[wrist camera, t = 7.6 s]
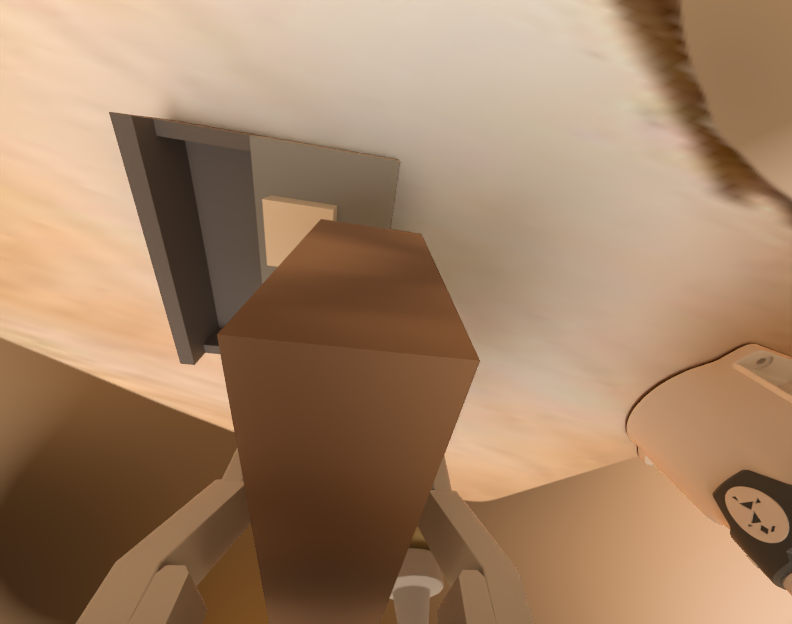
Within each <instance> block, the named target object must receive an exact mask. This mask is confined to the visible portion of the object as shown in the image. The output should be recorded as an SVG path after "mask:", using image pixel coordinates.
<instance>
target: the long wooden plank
mask: <svg viewBox="0 0 792 624" xmlns="http://www.w3.org/2000/svg"><path fill="white" fill-rule="evenodd" d="M217 337H218V343H219V348H220V354H221V360H222V365H223V371H224V376H225V382H226V387H227V393H228V398H229V404H230V409H231V415H232V420H233V426H234V431H235V437H236V442H237V448H238V453H239V459H240V465H241V470H242V476H243V481H244V487H245V492H246V498H247V503H248V509H249V514H250V520H251V525H252V530H253V536H254V542H255V547H256V552H257V558H258V563H259V569H260V575H261V580H262V586H263V592H264V597H265V602H266V608H267V614H268V619H269V624H380V622H381V619H382V617H383V614H384V611H385V609H386V606H387V604H388V601H389V598H390V596H391V593H392V590H393V588H394V585H395V583H396V580H397V577H398V575H399V572H400V569H401V567H402V564H403V562H404V559H405V556H406V554H407V551H408V548H409V546H410V543H411V541H412V538H413V535H414V533H415V530H416V527H417V525H418V522H419V520H420V517H421V514H422V512H423V509H424V506H425V504H426V501H427V498H428V496H429V493H430V491H431V488H432V485H433V483H434V480H435V477H436V475H437V472H438V470H439V467H440V464H441V462H442V459H443V456H444V454H445V451H446V449H447V446H448V443H449V441H450V438H451V435H452V433H453V430H454V428H455V425H456V422H457V420H458V417H459V414H460V412H461V409H462V407H463V404H464V401H465V399H466V396H467V393H468V391H469V388H470V386H471V383H472V380H473V378H474V375H475V372H476V370H477V367H478V365H479V362H480V360H479V358H478V356H477V353H476V351H475V349H474V347H473V345H472V343H471V340H470V338H469V336H468V334H467V332H466V330H465V327H464V325H463V323H462V321H461V319H460V317H459V315H458V312H457V310H456V308H455V306H454V304H453V302H452V299H451V297H450V295H449V293H448V291H447V289H446V286H445V284H444V282H443V280H442V278H441V276H440V273H439V271H438V269H437V267H436V265H435V263H434V260H433V258H432V256H431V254H430V252H429V250H428V247H427V245H426V243H425V241H424V239H423V237H422V234H418V233H412V232H405V231H398V230H391V229H385V228H378V227H371V226H365V225H358V224H351V223H344V222H338V221H331V220H324V219H320V221H319V222H318V223H317V224H316V225H315V226H314V227H313V228H312V229H311V231H310V232H309V233H308V234H307V235H306V236H305V237H304V238H303V239H302V241H301V242H300V243H299V244H298V245H297V246H296V247H295V248H294V250H293V251H292V252H291V253H290V254H289V255H288V256H287V257H286V258H285V260H284V261H283V262H282V263H281V264H280V265H279V266H278V267H277V268H276V270H275V271H274V272H273V273H272V274H271V275H270V276H269V277H268V278H267V280H266V281H265V282H264V283H263V284H262V285H261V286H260V287H259V288H258V290H257V291H256V292H255V293H254V294H253V295H252V296H251V297H250V298H249V300H248V301H247V302H246V303H245V304H244V305H243V306H242V307H241V308H240V310H239V311H238V312H237V313H236V314H235V315H234V316H233V317H232V318H231V320H230V321H229V322H228V323H227V324H226V325H225V326H224V327H223V328H222V330H221V331H220V332H219V333H218V334H217Z"/></svg>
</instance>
